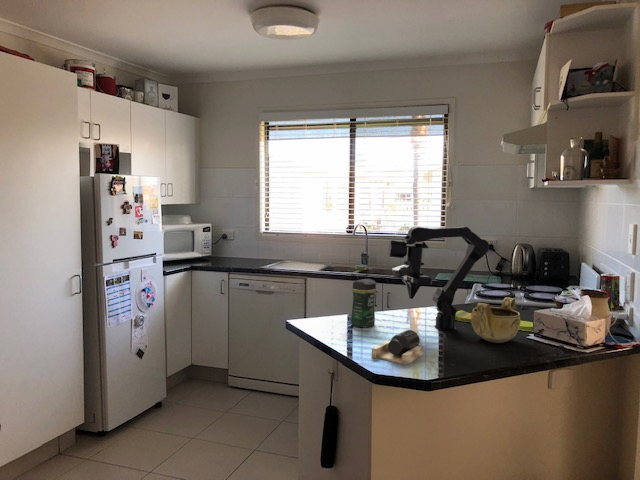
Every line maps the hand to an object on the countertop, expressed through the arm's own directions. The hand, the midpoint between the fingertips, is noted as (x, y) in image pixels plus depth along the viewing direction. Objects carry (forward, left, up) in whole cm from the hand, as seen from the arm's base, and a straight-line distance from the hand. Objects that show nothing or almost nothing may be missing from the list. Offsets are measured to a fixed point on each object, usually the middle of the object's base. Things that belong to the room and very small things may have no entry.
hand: (411, 298), depth 203 cm
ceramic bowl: (-23, +22, -12) cm, 34 cm away
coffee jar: (+16, -9, -12) cm, 22 cm away
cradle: (+20, +31, -12) cm, 39 cm away
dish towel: (-40, -1, -13) cm, 42 cm away
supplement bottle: (+13, +27, -8) cm, 31 cm away
